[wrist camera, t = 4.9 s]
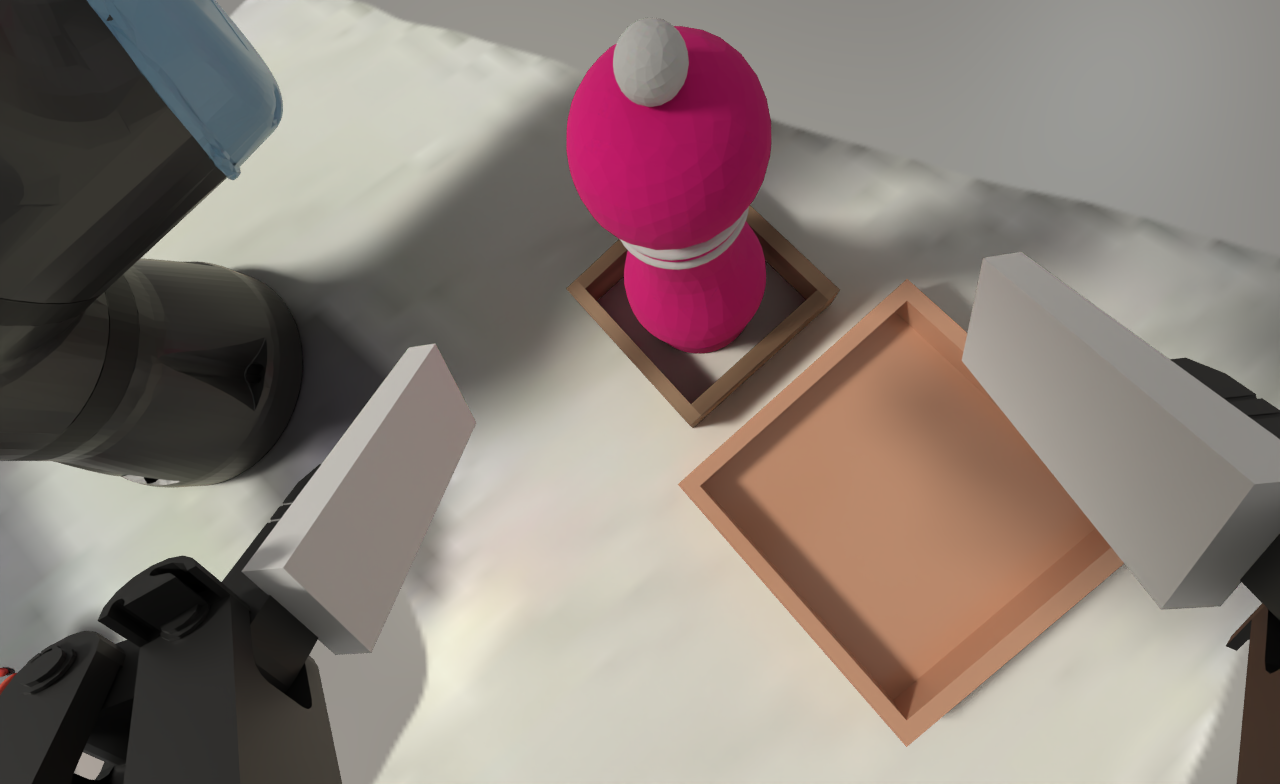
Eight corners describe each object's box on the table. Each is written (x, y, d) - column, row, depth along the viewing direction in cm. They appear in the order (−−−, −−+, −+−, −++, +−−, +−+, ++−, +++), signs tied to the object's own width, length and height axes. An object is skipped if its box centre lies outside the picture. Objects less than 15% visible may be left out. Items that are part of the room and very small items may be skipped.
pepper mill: (646, 369, 31) (500, 218, 11) (633, 255, 32) (480, -64, 12) (769, 352, 30) (844, 151, 10) (752, 235, 31) (789, -154, 11)
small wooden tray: (578, 301, 32) (566, 288, 30) (705, 183, 32) (702, 161, 29) (693, 427, 30) (689, 425, 27) (830, 303, 29) (840, 289, 27)
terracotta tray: (683, 481, 30) (678, 484, 27) (889, 296, 29) (907, 278, 26) (887, 714, 26) (906, 747, 23) (1124, 512, 26) (1175, 520, 23)
